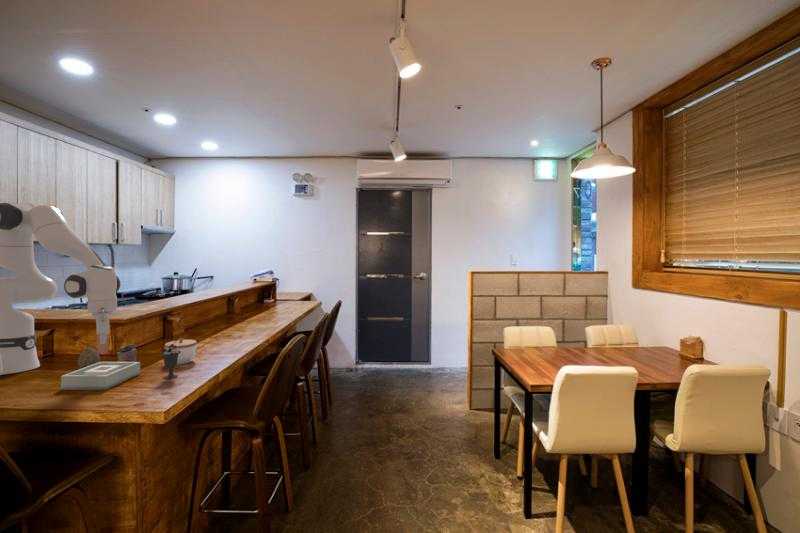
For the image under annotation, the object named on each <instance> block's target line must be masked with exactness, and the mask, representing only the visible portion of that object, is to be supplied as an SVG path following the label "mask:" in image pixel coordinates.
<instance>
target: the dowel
mask: <svg viewBox="0 0 800 533" xmlns="http://www.w3.org/2000/svg"><path fill="white" fill-rule="evenodd" d="M97 353H98V354H99V355H105V354H108V353H109V334H106V343H105V344H100V337H99V335H97Z"/></svg>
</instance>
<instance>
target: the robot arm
mask: <svg viewBox="0 0 800 533" xmlns="http://www.w3.org/2000/svg"><path fill="white" fill-rule="evenodd" d="M34 237H35V239H36V241H37V242H38V243H39V244H40V245H41V247H42V248H44V249H45V250H47V251H49V252H52V253H54V254H58V255H59V254H60V255H64V256H68V257H71V258H73V259H76V260H78V261H80V262H81V263H82V264H83V265H84V266H85V268H86V269H85V270H83V271H81V272H78V273H74V274H70V275H69V276H68V277H67V278H66V279H65V281H64V284H63V289H64V292H65V293H66V295H67V296H68V297H69V298H72V299H86V298H87V314H91V317H93V318H95V323H96V325H95V327H96V329H95V330H96V335H97V336H98V335H99V337H100V344H105V343H106V334H108V335H109V334H110V319H111V316H114V312H116V311H118V297H117V293H118V291H119V290H120V288H121V280H120V278H119V277H118V276H117V272H116V269H115V268H114V267H112V266H111V265H110V266H109V265H107V264H106V263H105V262H104V261H103V260H102V258H101V257H100V255H98V253H97V252H96V250H95V249H94V248H93V247H92V246H91V245H90V243H88V242H86V241H85V240H83V239H82V238H81V237H80V236H79V235H78V234H77V233H76V232H75V231H74V230H73V228H72V227H71V226H70V224H69V222H68V221H67V219H66V218H65V216H64V215H63V213H62V210H61V209H59V208H58V207H56V206H53V205H47V204H37V203H29V202H28V203H18V202H17V203H13V202H12V203H9V202H0V267H1V268H2V269H5V270H8V271H12V272H14V273H16V274H17V276H16V277H0V376H2V375H10V374H16V373H22V372H26V371H30V370H34V369H37V368H40V366H41V363H40V360H39V358H38V353H37V347H36V342H37V337H36V336H37V335H36V333H35V317H34V316H33V314H31V313H28V312H26V311H22V310H18V309H16V308H14V307H13V305H16V304H27V303H28V304H29V303H40V302H46V301H50V300H53V299H54V297H56V295H57V293H58V285H57V283H56V282H55V281H54V280H53V279H52V278H50V277H48V276H46V275H45V274H43V272H41V271H40V269H39V268H38V266H37V264H36V261H35V254H34V253H35V252H34V248H35V247H34Z"/></svg>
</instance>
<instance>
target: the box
mask: <svg viewBox="0 0 800 533" xmlns="http://www.w3.org/2000/svg"><path fill="white" fill-rule="evenodd" d="M140 374H141V362H140V361H136V362H118V361H100V362H98V363H96V364H93V365H90V366H87V367H85V368H82V369H81V368H79V369H77V370H74V371H71V372H69V373H66V374H63V375H61V376H60V390H61V391H62V390H63V391H65V390H66V391H69V390H71V391H72V390H73V391H78V390H80V391H81V390H82V391H83V390H84V391H88V390H89V391H90V390H91V391H93V390H94V391H99V390H101V391H105V390H106V391H107V390H109V389H111V388H114V387H116V386H117V385H119V384H122V383H123V382H125V381H128V380H130V379H132V378H134V377H136V376H139V375H140Z"/></svg>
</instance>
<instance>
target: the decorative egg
mask: <svg viewBox="0 0 800 533" xmlns="http://www.w3.org/2000/svg"><path fill="white" fill-rule="evenodd" d="M82 350H83V351H81V353H80V354H79V356H78V358H77V366H78V367H79V369H82V368H85V367H87V366H90V365H93V364H96V363H98V362H101V358H100V354H98V350H96V349H94V348H93V347H91V346H90V347H89V346H88V347H86V348H84V349H82Z"/></svg>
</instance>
